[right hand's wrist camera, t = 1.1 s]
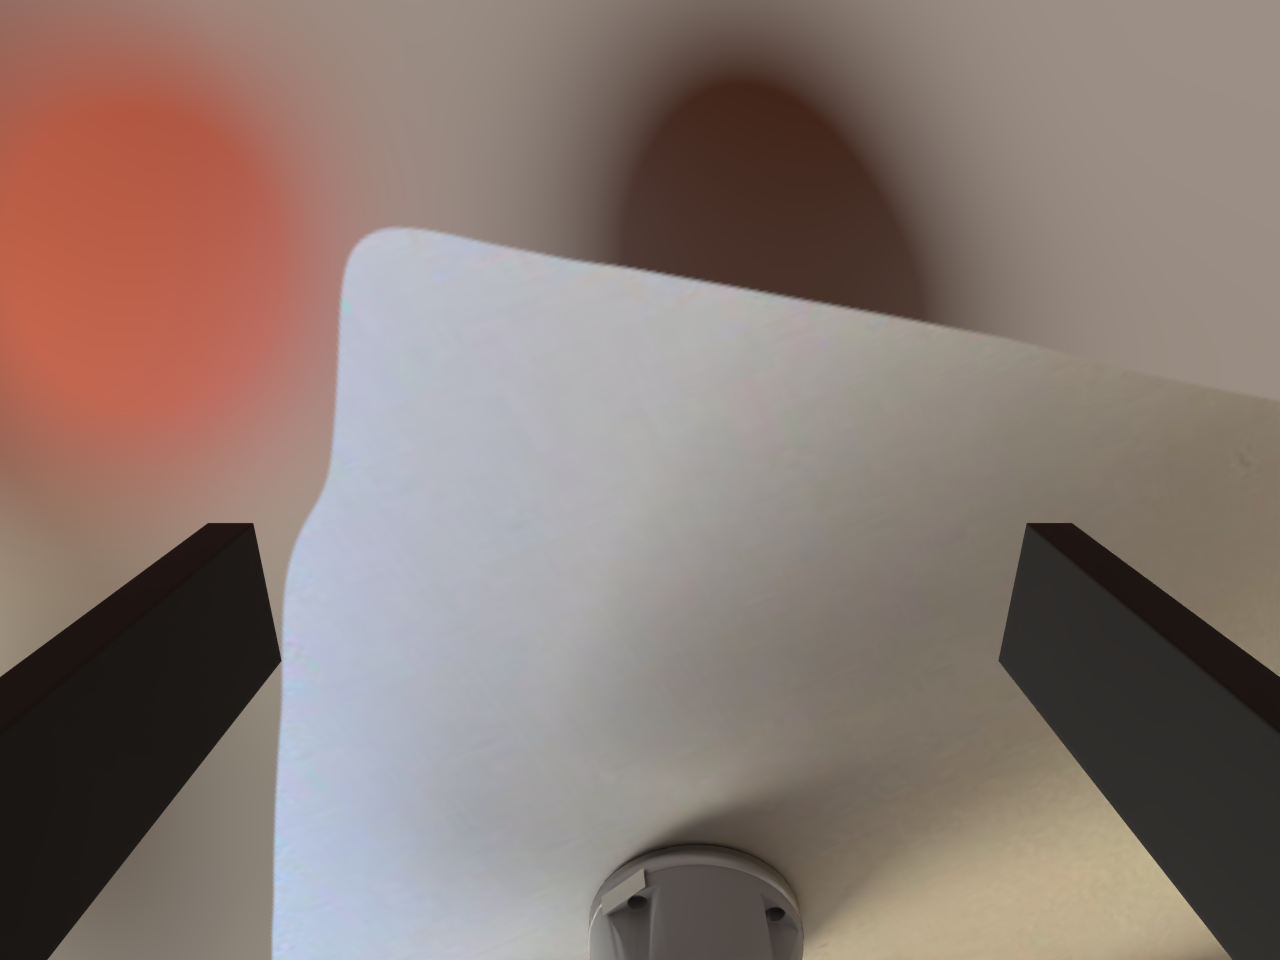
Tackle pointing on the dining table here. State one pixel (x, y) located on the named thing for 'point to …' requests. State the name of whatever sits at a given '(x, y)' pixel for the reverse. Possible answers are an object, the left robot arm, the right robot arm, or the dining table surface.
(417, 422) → the dining table surface
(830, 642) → the dining table surface
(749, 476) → the dining table surface
